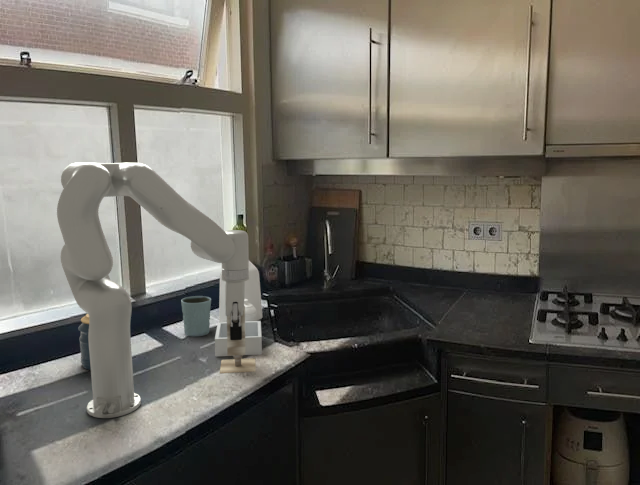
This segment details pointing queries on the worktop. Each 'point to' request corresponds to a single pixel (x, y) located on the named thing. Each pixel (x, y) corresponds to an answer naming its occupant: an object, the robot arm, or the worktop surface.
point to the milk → (250, 294)
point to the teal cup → (196, 315)
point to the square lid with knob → (238, 365)
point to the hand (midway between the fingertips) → (236, 335)
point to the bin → (251, 338)
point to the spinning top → (249, 311)
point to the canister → (85, 342)
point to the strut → (236, 345)
